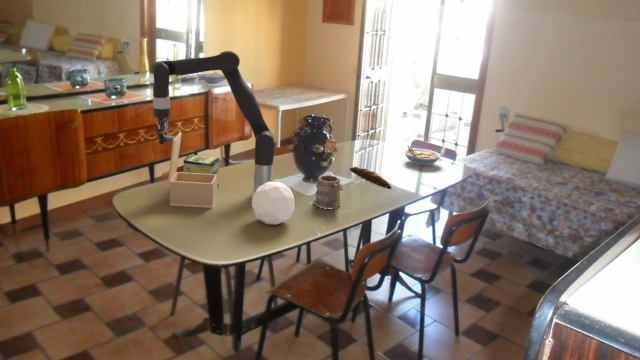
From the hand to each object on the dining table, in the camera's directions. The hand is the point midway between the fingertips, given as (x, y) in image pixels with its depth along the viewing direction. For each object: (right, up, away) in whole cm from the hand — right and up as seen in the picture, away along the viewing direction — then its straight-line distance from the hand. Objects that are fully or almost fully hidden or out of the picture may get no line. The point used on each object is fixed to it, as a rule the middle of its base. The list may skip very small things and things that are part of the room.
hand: (163, 142), depth 260 cm
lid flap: (+5, -6, +2) cm, 9 cm away
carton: (+12, -28, +10) cm, 32 cm away
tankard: (+78, -31, +15) cm, 85 cm away
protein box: (+12, -22, +28) cm, 38 cm away
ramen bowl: (+138, -8, +97) cm, 169 cm away
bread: (+102, -17, +63) cm, 121 cm away
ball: (+52, -37, -7) cm, 64 cm away
